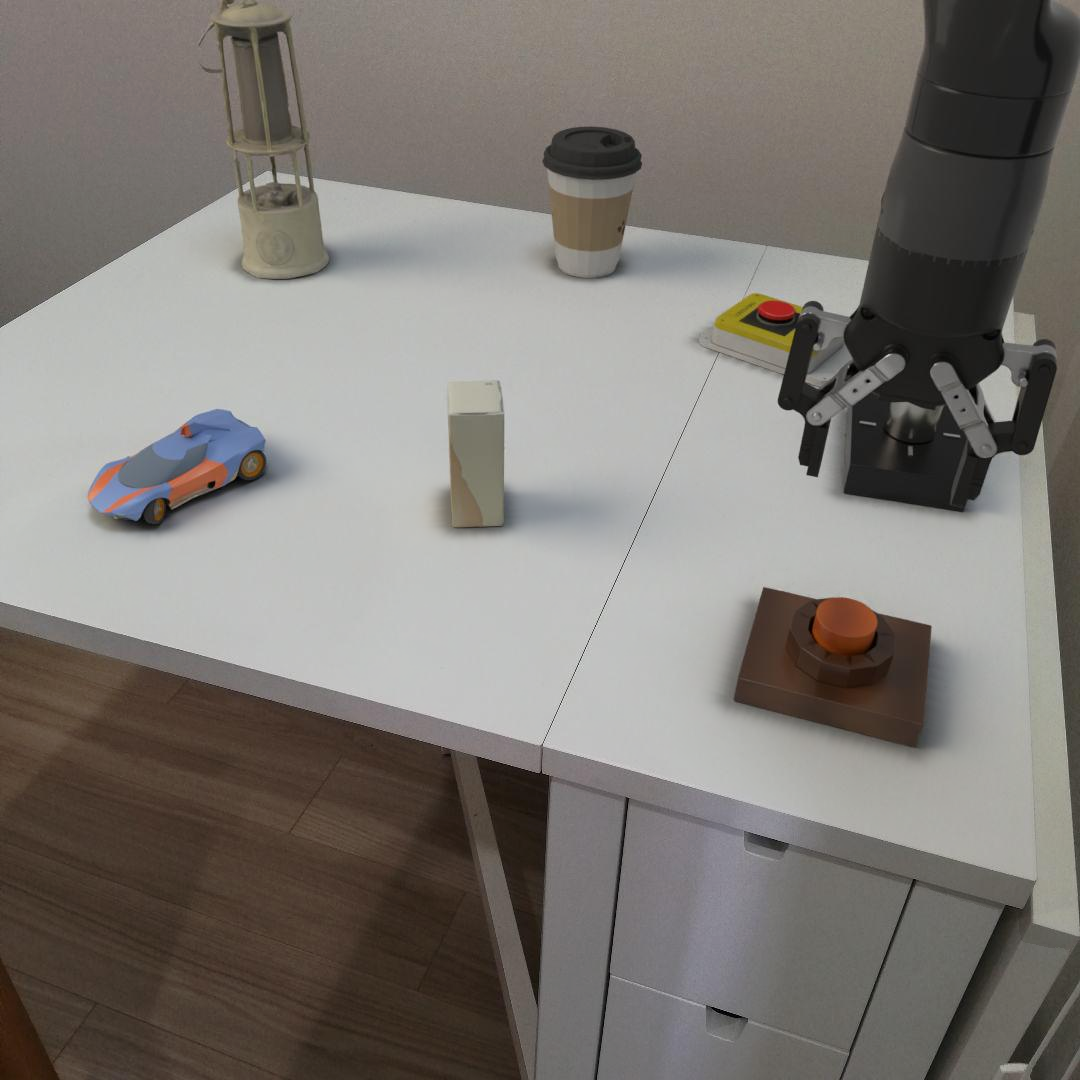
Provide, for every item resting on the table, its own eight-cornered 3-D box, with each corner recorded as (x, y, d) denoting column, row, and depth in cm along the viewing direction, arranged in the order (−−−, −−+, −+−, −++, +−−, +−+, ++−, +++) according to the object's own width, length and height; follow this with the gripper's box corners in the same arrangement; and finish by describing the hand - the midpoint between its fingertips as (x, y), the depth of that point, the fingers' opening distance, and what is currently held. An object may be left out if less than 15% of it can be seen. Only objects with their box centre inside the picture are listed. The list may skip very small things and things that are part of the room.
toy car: (73, 504, 88) (56, 450, 84) (226, 434, 97) (216, 382, 93) (126, 546, 83) (110, 490, 80) (280, 468, 92) (272, 416, 89)
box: (450, 492, 90) (446, 378, 83) (501, 490, 90) (500, 376, 84) (452, 530, 86) (447, 413, 79) (505, 528, 86) (505, 411, 79)
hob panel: (963, 511, 89) (973, 481, 87) (843, 493, 91) (850, 462, 89) (954, 427, 100) (963, 398, 98) (846, 411, 102) (853, 383, 100)
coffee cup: (637, 287, 123) (647, 157, 114) (539, 284, 123) (542, 154, 114) (631, 247, 132) (640, 124, 123) (540, 245, 132) (543, 122, 123)
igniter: (924, 647, 76) (938, 606, 74) (915, 748, 69) (930, 705, 66) (758, 608, 79) (767, 567, 77) (733, 700, 72) (741, 658, 69)
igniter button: (874, 624, 73) (880, 605, 72) (869, 662, 70) (874, 643, 69) (816, 610, 74) (820, 591, 73) (808, 647, 71) (812, 628, 70)
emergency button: (743, 276, 115) (872, 316, 108) (738, 313, 118) (863, 354, 111) (700, 305, 110) (833, 349, 103) (695, 343, 112) (825, 389, 105)
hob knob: (882, 438, 93) (896, 385, 89) (885, 413, 96) (899, 361, 93) (934, 447, 92) (950, 394, 88) (935, 422, 95) (951, 369, 92)
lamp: (284, 287, 121) (244, -1, 102) (208, 258, 127) (157, -19, 108) (347, 258, 128) (320, -18, 109) (272, 232, 133) (234, -34, 115)
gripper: (803, 231, 53) (756, 493, 63) (1108, 276, 50) (1007, 546, 60) (823, 183, 59) (777, 431, 69) (1098, 220, 55) (1008, 475, 65)
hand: (884, 484), depth 64 cm, fingers open, 8 cm apart
